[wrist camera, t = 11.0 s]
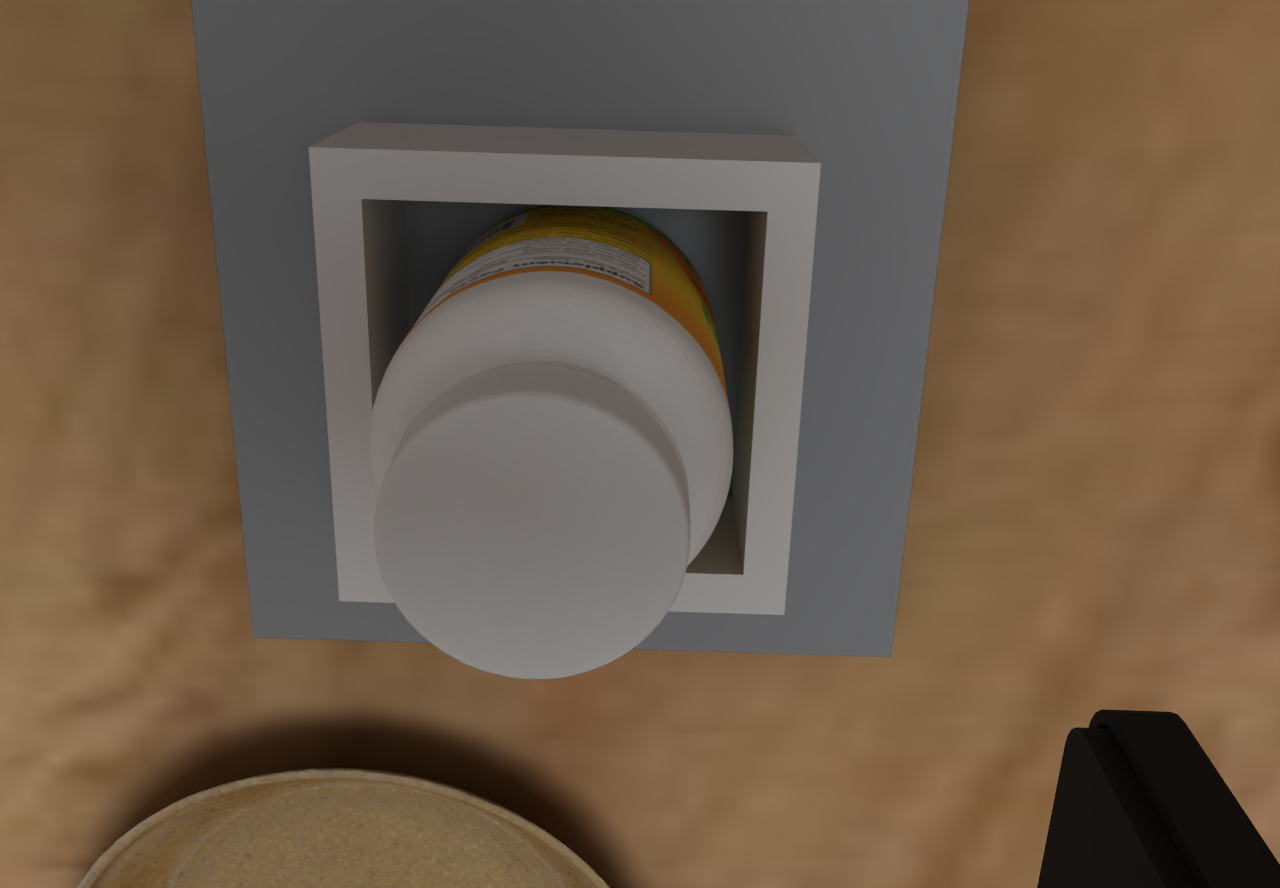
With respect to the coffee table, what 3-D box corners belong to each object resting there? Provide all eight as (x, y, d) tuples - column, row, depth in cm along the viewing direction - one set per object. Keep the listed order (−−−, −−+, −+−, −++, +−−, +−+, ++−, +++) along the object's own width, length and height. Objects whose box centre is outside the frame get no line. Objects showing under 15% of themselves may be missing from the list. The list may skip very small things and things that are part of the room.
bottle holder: (209, -50, 23) (104, -55, 19) (956, -27, 23) (1028, -25, 19) (269, 610, 28) (197, 729, 24) (881, 629, 28) (923, 752, 24)
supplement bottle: (695, 470, 25) (719, 749, 16) (435, 442, 25) (312, 708, 16) (731, 210, 23) (779, 363, 14) (449, 179, 23) (317, 312, 14)
